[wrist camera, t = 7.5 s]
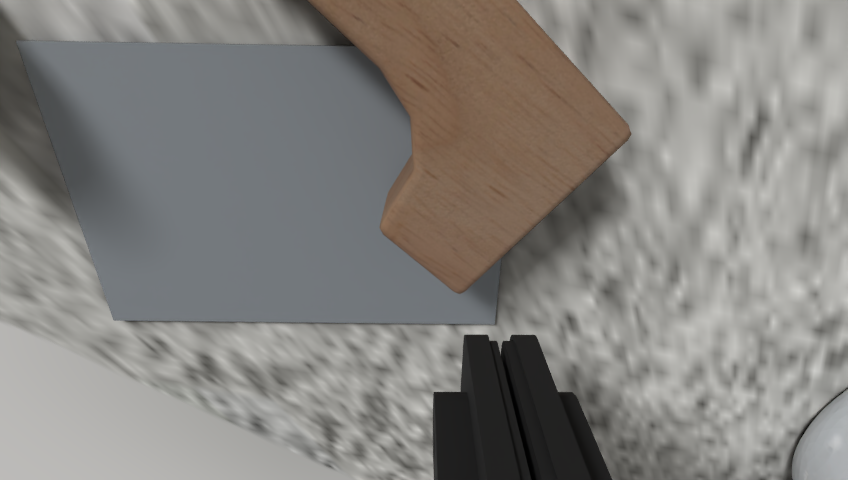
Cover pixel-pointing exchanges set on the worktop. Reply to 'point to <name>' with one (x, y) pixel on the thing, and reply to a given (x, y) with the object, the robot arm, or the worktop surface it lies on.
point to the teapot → (824, 445)
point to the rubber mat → (239, 182)
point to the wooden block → (478, 125)
